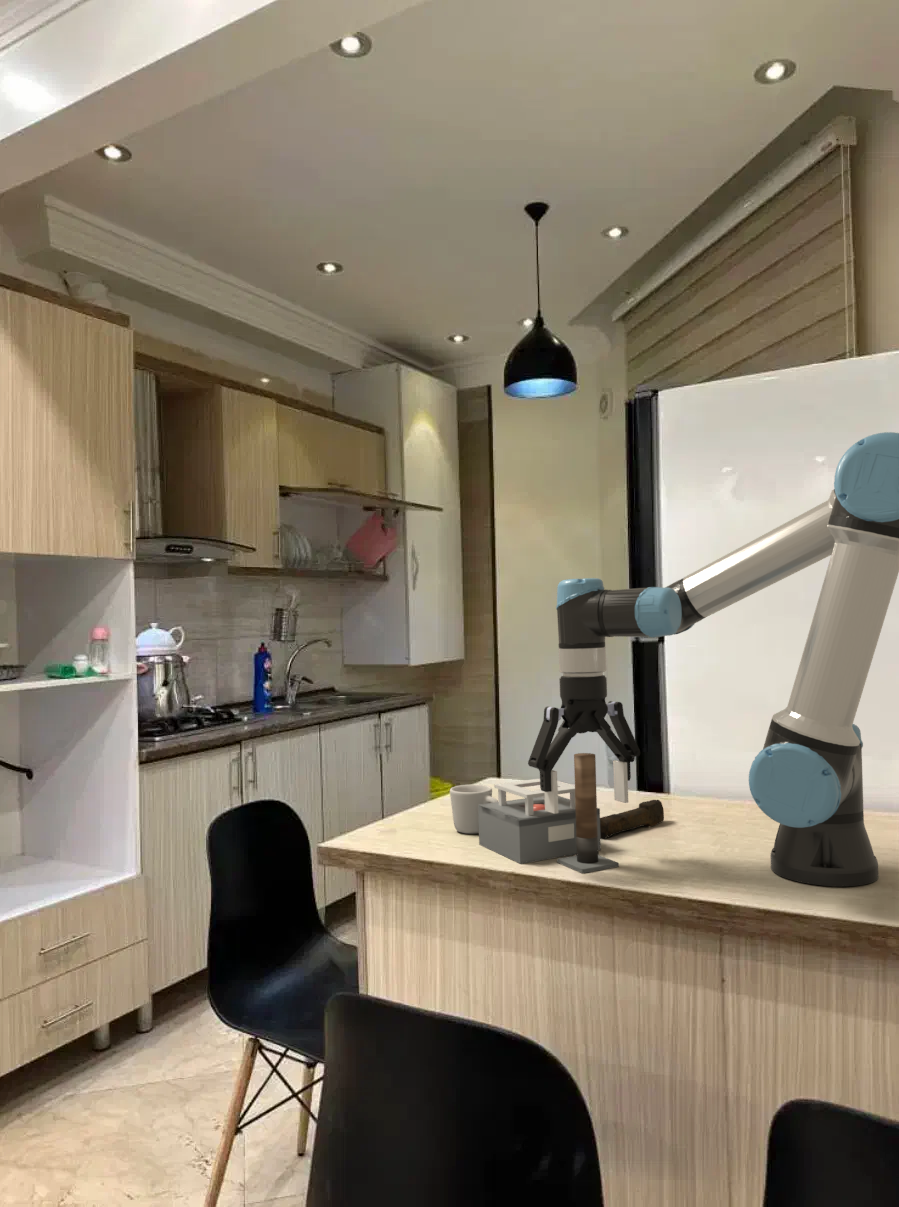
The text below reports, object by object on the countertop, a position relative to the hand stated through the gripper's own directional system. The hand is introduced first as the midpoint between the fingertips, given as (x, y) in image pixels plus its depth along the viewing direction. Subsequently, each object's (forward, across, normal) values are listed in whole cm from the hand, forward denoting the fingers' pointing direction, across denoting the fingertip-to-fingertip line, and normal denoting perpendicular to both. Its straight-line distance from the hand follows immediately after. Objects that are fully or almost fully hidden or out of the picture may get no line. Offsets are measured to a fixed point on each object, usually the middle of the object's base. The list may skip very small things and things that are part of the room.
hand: (587, 806), depth 141 cm
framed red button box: (+9, +1, -13) cm, 16 cm away
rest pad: (+9, 0, 0) cm, 9 cm away
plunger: (+9, +1, -13) cm, 16 cm away
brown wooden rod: (+9, 0, 0) cm, 9 cm away
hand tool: (+10, -20, -15) cm, 27 cm away
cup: (+9, +5, -28) cm, 30 cm away
